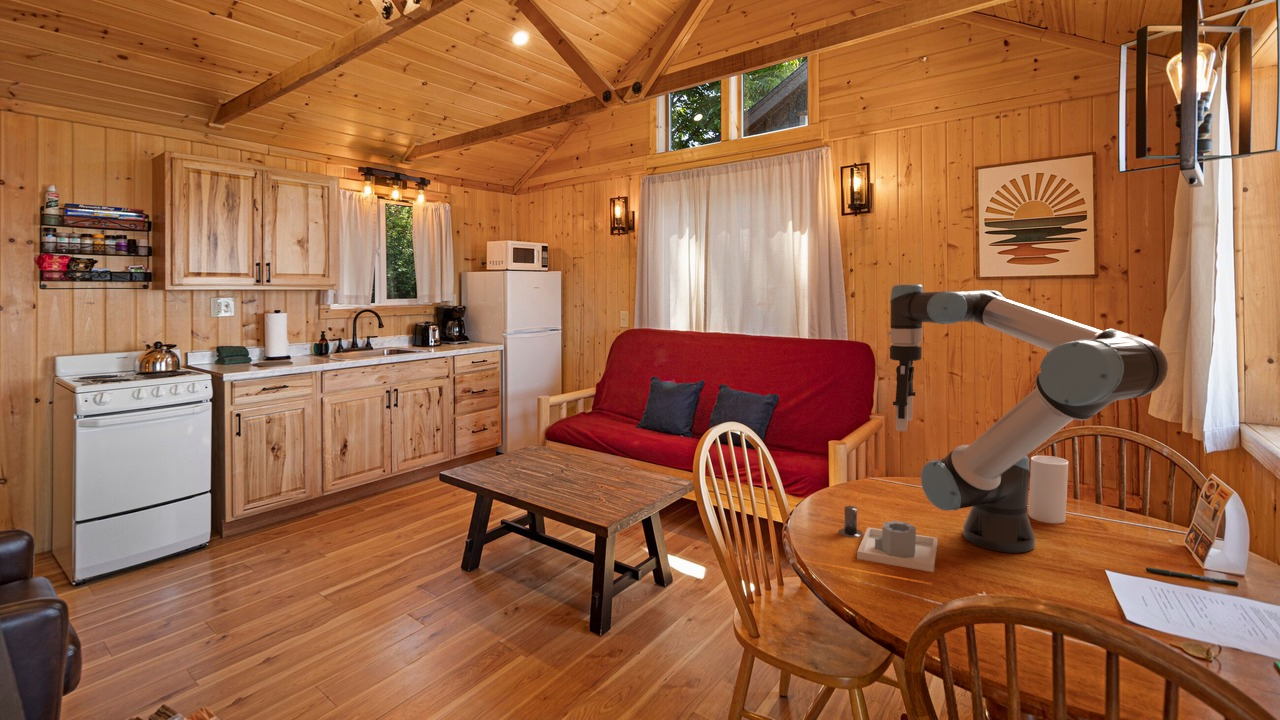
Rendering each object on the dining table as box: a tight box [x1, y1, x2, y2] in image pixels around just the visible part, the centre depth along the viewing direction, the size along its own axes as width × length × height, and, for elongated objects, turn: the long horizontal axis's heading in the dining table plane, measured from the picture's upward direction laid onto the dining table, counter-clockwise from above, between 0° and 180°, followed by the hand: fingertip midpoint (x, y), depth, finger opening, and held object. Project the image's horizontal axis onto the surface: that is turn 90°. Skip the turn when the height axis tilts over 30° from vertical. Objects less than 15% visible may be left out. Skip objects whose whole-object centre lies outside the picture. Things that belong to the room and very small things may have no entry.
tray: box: [856, 526, 938, 574], centre depth 143 cm, size 16×16×2 cm
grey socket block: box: [875, 520, 917, 558], centre depth 144 cm, size 9×7×6 cm
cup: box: [1028, 455, 1069, 524], centre depth 162 cm, size 8×8×16 cm
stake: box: [838, 505, 864, 539], centre depth 155 cm, size 6×6×7 cm
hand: (904, 425), depth 159 cm, fingers open, 13 cm apart
